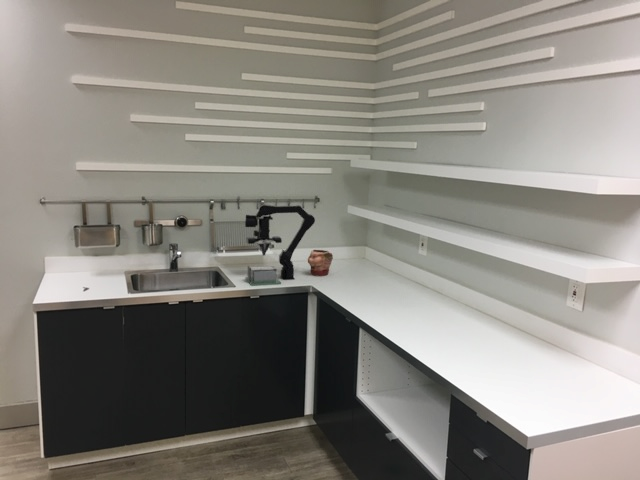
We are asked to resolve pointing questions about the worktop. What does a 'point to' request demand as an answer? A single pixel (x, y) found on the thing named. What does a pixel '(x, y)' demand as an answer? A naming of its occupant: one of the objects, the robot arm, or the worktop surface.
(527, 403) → the worktop surface
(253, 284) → the green grey square block
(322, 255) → the decorative planter
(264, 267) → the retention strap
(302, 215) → the robot arm
